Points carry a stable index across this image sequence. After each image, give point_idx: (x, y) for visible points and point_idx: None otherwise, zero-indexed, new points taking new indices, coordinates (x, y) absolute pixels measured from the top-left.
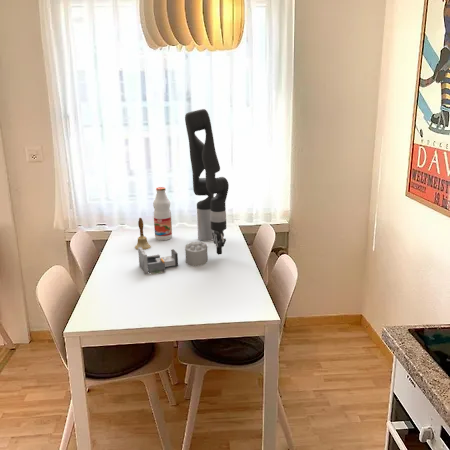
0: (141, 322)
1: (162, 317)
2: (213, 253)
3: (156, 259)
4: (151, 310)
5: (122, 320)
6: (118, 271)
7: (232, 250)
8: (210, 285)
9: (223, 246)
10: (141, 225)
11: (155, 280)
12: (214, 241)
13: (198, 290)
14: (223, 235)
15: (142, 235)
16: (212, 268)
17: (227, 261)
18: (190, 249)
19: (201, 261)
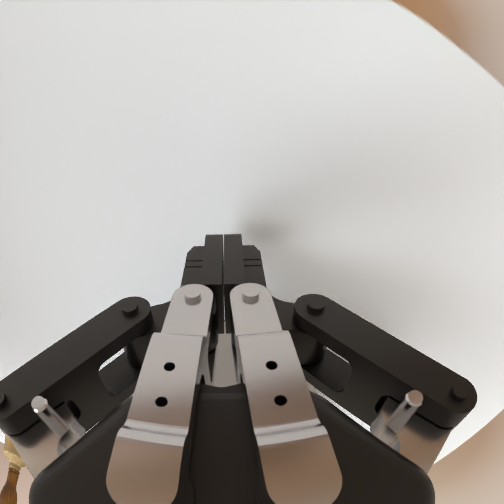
0: (469, 434)
1: (486, 417)
2: (92, 242)
3: None
4: (457, 434)
5: (443, 452)
6: None
7: (67, 47)
8: (494, 352)
9: (324, 298)
10: (15, 502)
11: None
12: (133, 375)
13: (483, 379)
14: (427, 475)
15: (18, 468)
16: (392, 328)
17: (348, 198)
18: None
19: (314, 387)
